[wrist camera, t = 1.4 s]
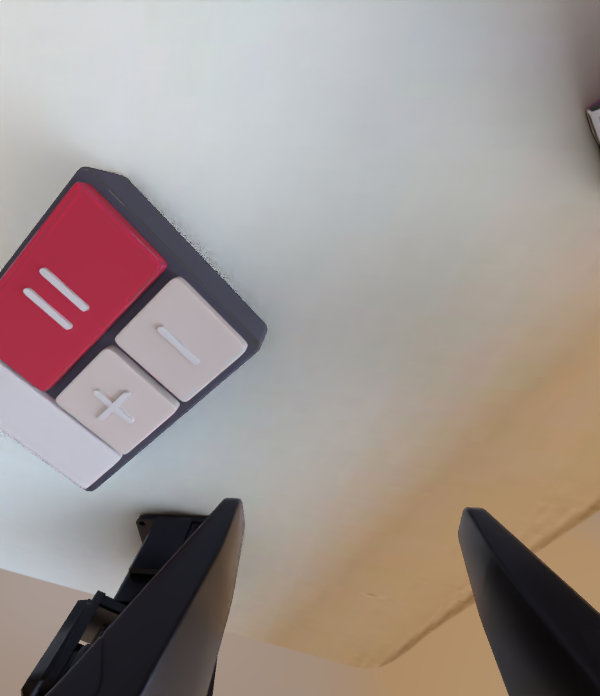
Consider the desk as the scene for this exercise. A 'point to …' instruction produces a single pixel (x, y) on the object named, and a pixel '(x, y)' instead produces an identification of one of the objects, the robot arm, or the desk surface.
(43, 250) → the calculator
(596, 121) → the candy bar box
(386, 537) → the desk surface
